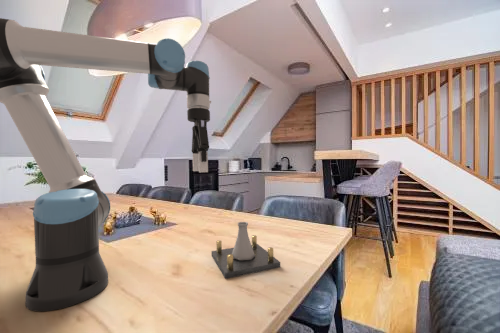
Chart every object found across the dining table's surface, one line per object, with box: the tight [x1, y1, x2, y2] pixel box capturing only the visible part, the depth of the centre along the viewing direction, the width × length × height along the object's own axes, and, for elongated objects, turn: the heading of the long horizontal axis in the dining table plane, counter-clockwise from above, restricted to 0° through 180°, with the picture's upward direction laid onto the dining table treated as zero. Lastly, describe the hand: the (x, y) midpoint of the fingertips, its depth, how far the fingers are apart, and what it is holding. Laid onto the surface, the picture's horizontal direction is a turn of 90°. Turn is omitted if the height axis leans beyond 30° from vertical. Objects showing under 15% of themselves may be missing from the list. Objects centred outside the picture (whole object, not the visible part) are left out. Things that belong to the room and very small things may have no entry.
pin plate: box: [211, 235, 281, 280], centre depth 69 cm, size 16×16×5 cm
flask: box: [232, 221, 255, 260], centre depth 69 cm, size 7×7×10 cm
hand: (199, 171), depth 79 cm, fingers open, 13 cm apart
